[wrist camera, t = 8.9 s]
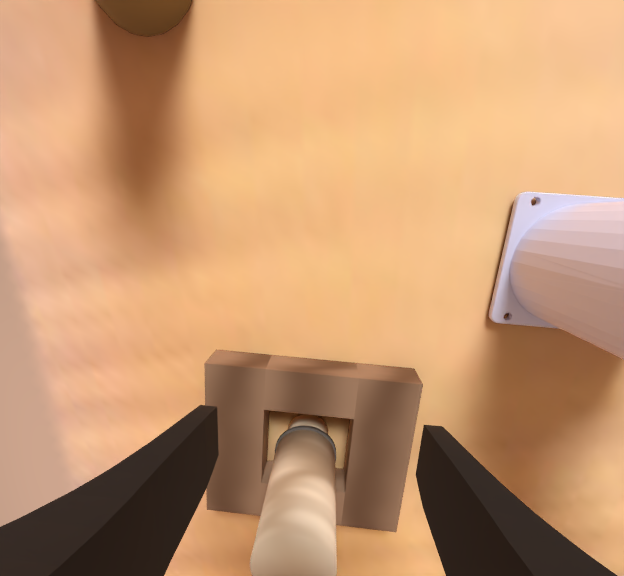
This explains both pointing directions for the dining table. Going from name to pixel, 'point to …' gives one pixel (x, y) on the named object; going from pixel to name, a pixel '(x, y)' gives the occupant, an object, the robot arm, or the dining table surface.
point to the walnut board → (323, 402)
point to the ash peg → (299, 505)
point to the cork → (145, 14)
